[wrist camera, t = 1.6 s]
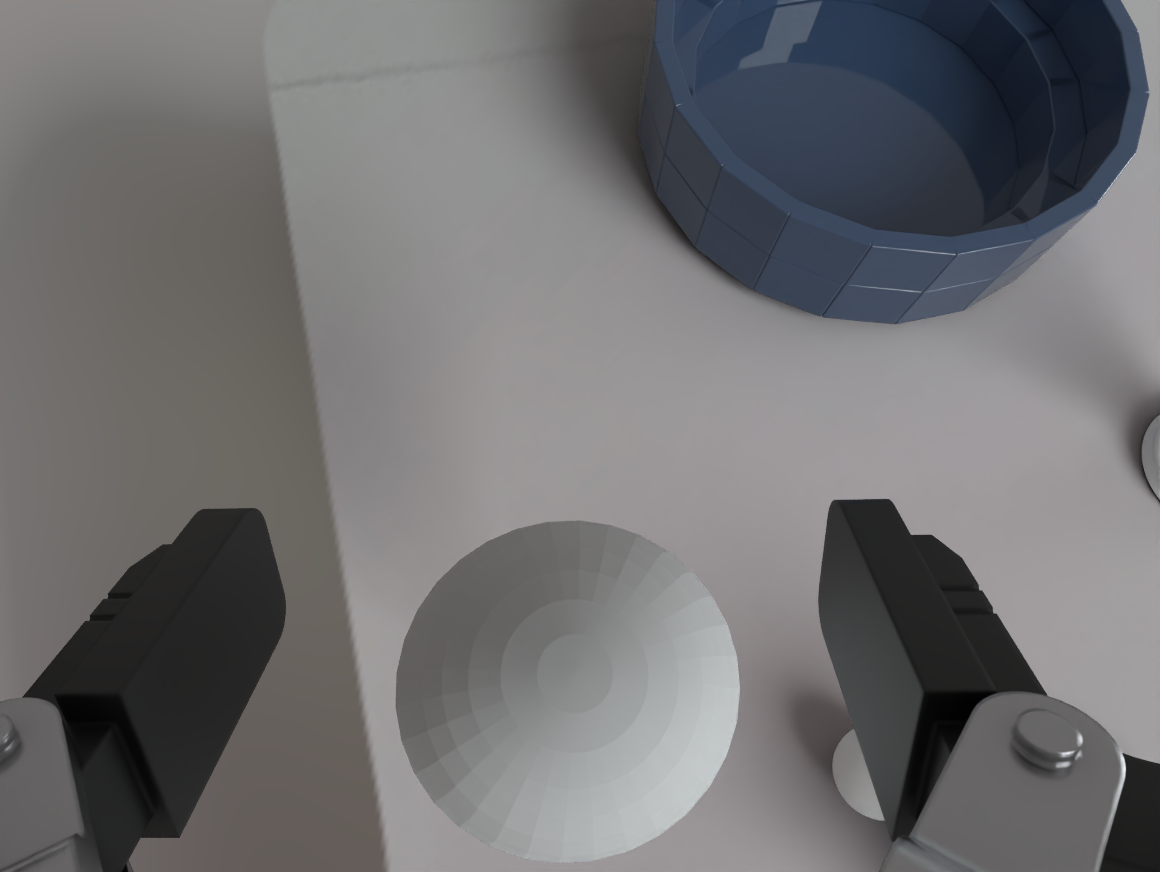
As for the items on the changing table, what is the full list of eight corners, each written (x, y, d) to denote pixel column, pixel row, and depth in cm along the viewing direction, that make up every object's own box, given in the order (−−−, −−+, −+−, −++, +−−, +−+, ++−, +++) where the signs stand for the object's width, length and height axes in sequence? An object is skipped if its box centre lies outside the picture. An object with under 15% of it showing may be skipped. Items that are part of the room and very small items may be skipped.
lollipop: (634, 594, 28) (736, 460, 14) (666, 782, 26) (820, 854, 12) (449, 621, 27) (354, 509, 13) (467, 815, 25) (379, 931, 11)
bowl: (623, 306, 31) (641, 224, 26) (649, -40, 37) (667, -164, 32) (1077, 350, 32) (1183, 277, 26) (1032, 0, 37) (1112, -117, 32)
